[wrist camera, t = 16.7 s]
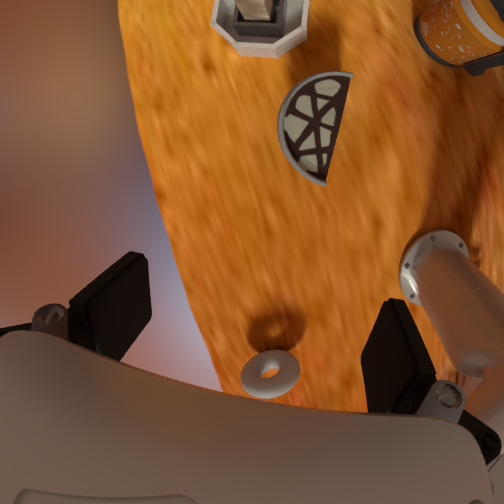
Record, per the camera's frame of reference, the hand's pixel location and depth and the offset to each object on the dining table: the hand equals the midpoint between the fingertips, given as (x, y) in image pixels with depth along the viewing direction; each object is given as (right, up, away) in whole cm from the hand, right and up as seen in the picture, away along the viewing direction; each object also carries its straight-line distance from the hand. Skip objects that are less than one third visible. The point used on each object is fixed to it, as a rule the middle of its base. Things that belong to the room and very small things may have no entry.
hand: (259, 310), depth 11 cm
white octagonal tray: (+1, +32, +17) cm, 36 cm away
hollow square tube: (+1, +32, +17) cm, 36 cm away
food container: (+7, +18, +22) cm, 30 cm away
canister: (+26, +31, +13) cm, 42 cm away
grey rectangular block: (+1, +32, +16) cm, 36 cm away
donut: (+4, -15, +38) cm, 41 cm away
